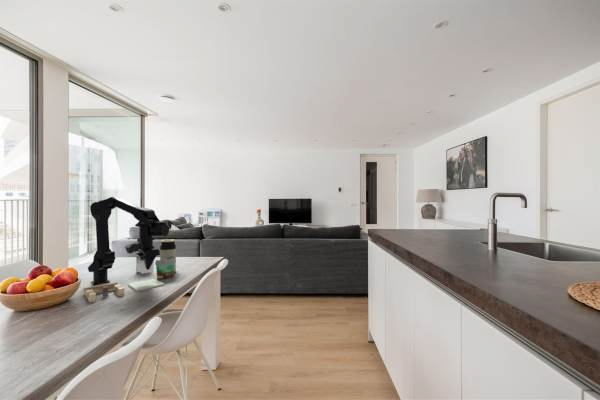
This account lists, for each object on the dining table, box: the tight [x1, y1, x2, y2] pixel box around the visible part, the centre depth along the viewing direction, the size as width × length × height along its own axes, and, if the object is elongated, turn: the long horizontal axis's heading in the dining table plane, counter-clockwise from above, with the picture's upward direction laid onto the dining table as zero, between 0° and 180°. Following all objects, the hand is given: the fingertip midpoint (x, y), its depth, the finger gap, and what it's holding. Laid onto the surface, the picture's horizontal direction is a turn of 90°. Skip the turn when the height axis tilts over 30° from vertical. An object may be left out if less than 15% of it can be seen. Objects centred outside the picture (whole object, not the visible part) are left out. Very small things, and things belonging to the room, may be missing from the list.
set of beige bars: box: [83, 281, 125, 303], centre depth 119 cm, size 13×12×4 cm
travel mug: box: [159, 238, 177, 273], centre depth 157 cm, size 8×8×18 cm
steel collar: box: [137, 258, 155, 275], centre depth 132 cm, size 5×5×6 cm
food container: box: [154, 256, 177, 280], centre depth 146 cm, size 12×6×10 cm, turn 168°
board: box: [127, 278, 165, 292], centre depth 132 cm, size 12×12×1 cm
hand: (146, 268), depth 132 cm, fingers closed on steel collar, 5 cm apart
